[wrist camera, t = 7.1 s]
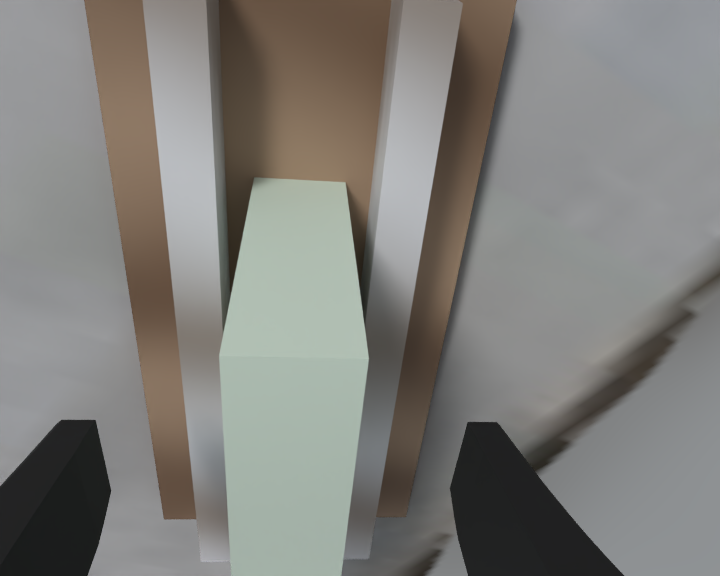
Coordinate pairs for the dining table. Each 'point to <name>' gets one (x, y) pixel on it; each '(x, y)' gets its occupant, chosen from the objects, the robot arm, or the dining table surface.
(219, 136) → the door track
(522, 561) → the robot arm
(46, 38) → the dining table surface
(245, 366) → the door panel
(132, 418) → the dining table surface
